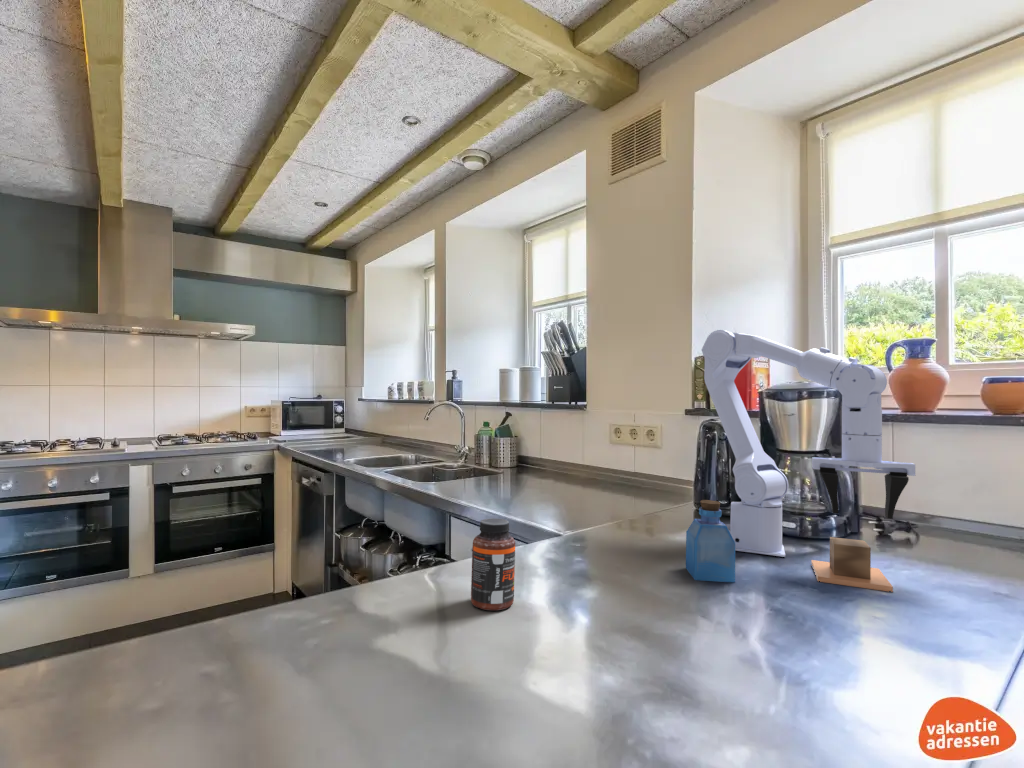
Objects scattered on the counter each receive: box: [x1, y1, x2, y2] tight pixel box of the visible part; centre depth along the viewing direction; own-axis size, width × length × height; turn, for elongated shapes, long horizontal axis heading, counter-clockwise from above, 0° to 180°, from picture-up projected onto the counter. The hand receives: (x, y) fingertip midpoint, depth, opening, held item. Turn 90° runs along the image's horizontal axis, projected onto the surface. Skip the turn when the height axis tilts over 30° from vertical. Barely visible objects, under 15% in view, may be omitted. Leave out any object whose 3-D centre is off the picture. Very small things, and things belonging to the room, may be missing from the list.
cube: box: [829, 536, 872, 580], centre depth 87 cm, size 5×5×5 cm
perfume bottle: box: [685, 499, 736, 583], centre depth 87 cm, size 6×6×12 cm
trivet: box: [810, 559, 894, 593], centre depth 87 cm, size 10×10×1 cm
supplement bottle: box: [470, 517, 516, 612], centre depth 72 cm, size 6×6×11 cm
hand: (861, 515), depth 89 cm, fingers open, 7 cm apart
